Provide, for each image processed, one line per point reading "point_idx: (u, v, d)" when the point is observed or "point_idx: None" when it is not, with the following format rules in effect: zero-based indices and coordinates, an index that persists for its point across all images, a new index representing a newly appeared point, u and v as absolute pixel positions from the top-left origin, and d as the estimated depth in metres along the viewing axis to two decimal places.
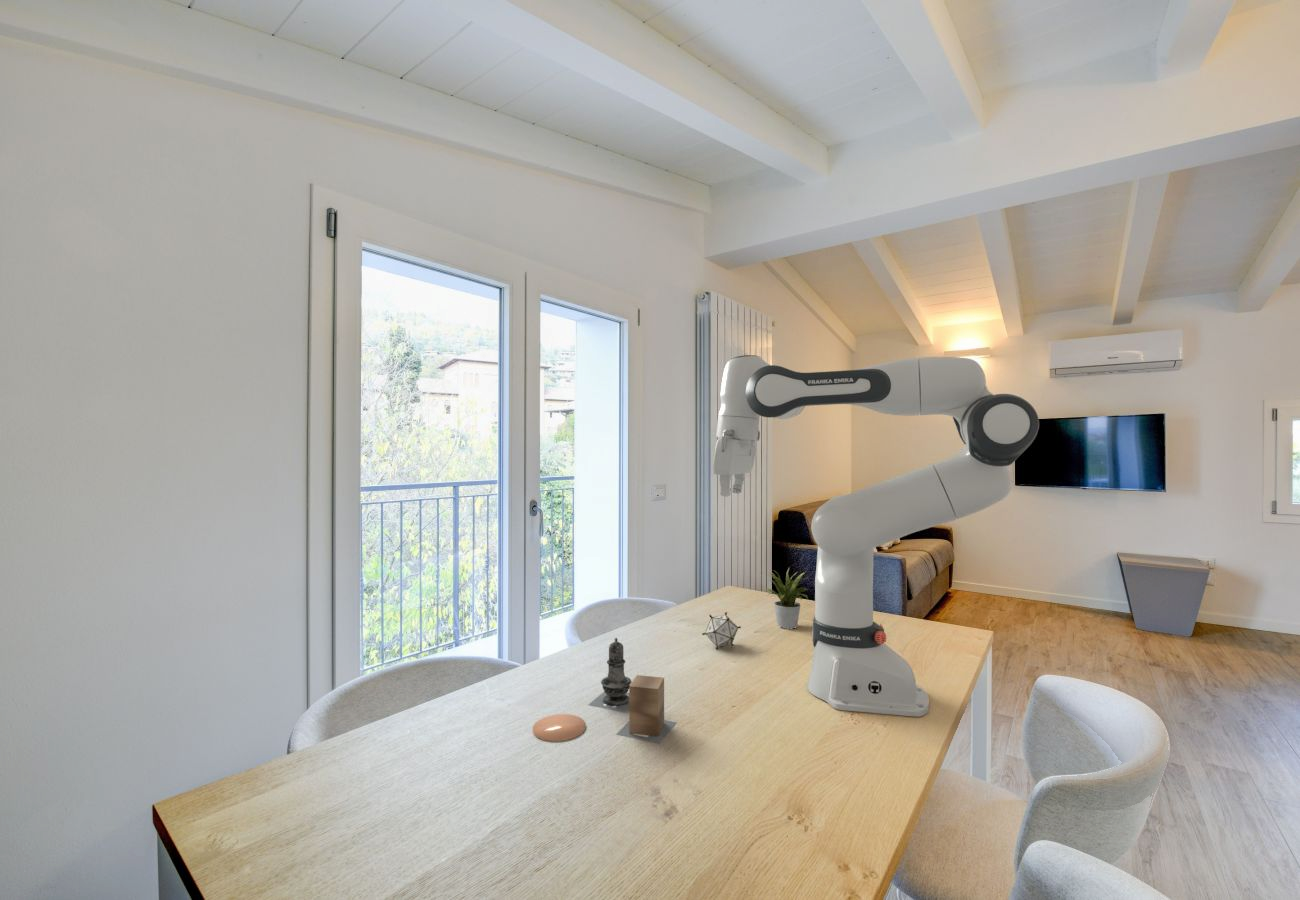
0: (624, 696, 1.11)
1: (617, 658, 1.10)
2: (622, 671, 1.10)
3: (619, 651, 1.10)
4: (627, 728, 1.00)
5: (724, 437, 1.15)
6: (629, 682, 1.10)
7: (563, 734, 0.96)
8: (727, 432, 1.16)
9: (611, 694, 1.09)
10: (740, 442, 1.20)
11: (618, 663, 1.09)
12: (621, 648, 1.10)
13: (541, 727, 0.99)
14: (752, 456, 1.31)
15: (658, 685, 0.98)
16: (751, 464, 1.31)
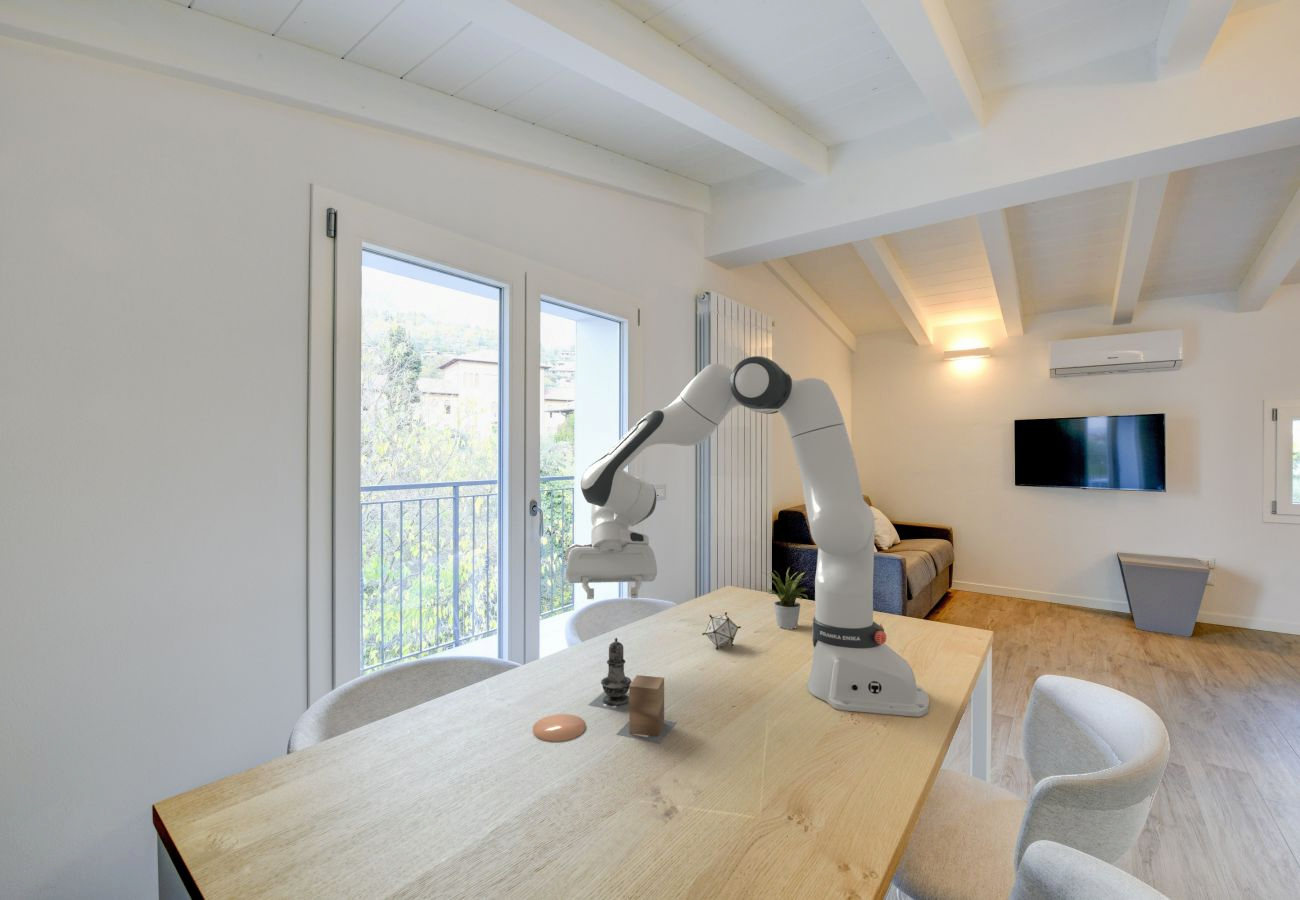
0: (624, 696, 1.11)
1: (617, 658, 1.10)
2: (622, 671, 1.10)
3: (619, 651, 1.10)
4: (627, 728, 1.00)
5: None
6: (629, 682, 1.10)
7: (563, 734, 0.96)
8: (572, 546, 1.31)
9: (611, 694, 1.09)
10: (596, 548, 1.30)
11: (618, 663, 1.09)
12: (621, 648, 1.10)
13: (541, 727, 0.99)
14: (648, 558, 1.29)
15: (658, 685, 0.98)
16: (649, 565, 1.28)
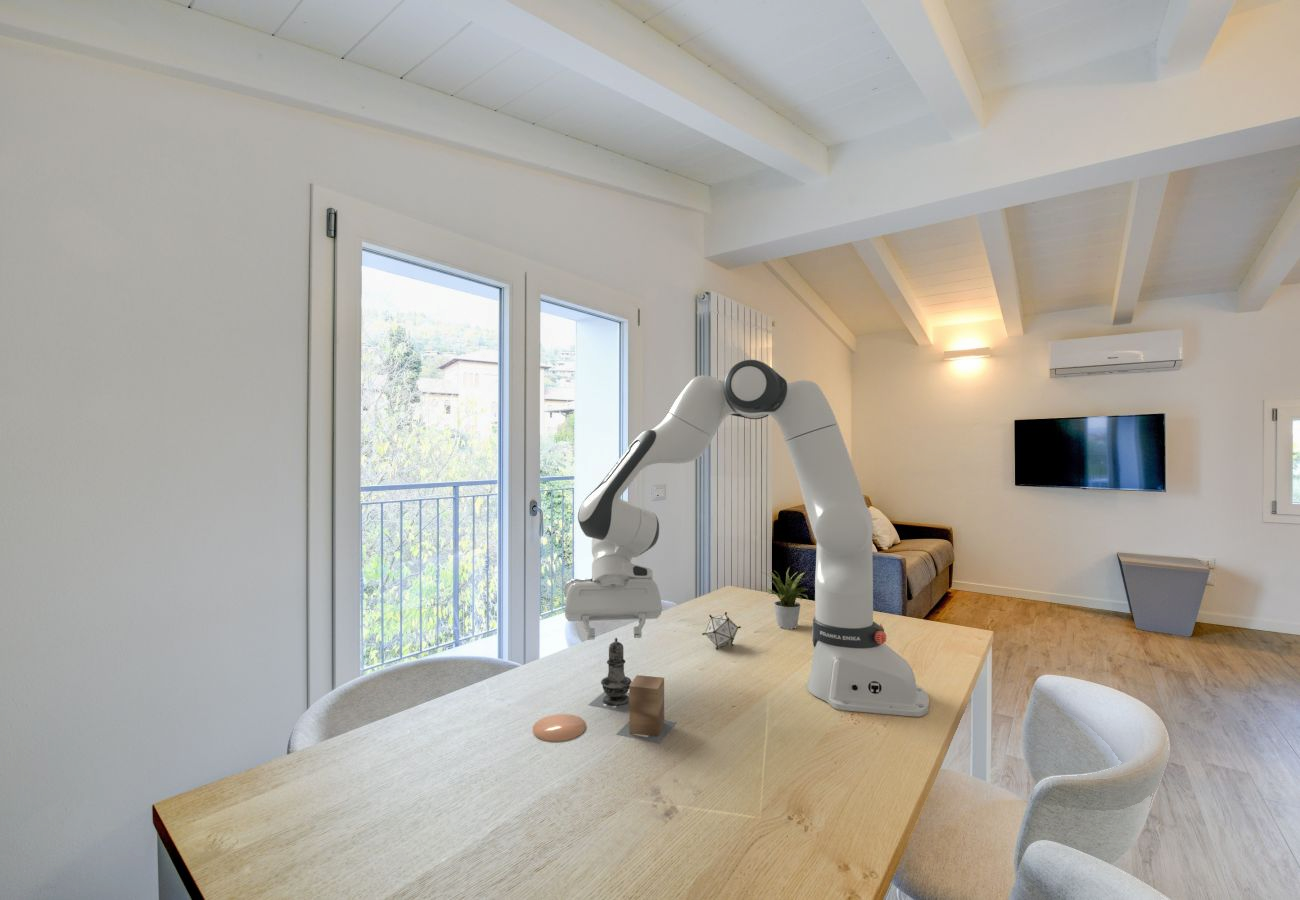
0: (624, 696, 1.11)
1: (617, 658, 1.10)
2: (622, 671, 1.10)
3: (619, 651, 1.10)
4: (627, 728, 1.00)
5: None
6: (629, 682, 1.10)
7: (563, 734, 0.96)
8: (571, 580, 1.24)
9: (611, 694, 1.09)
10: (597, 583, 1.22)
11: (618, 663, 1.09)
12: (621, 648, 1.10)
13: (541, 727, 0.99)
14: (652, 594, 1.21)
15: (658, 685, 0.98)
16: (653, 602, 1.20)
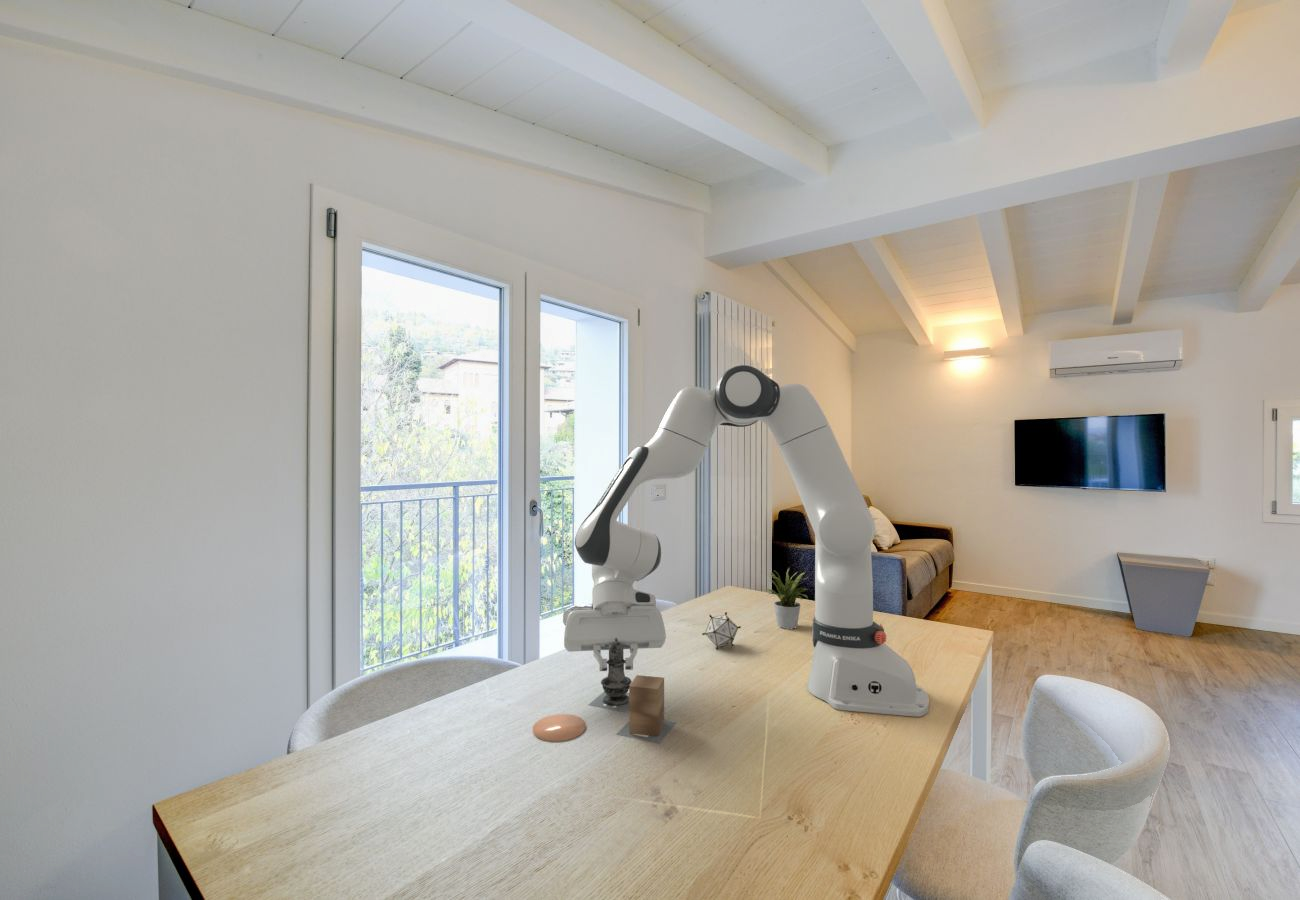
0: (624, 696, 1.11)
1: (617, 658, 1.10)
2: (622, 671, 1.10)
3: (619, 651, 1.10)
4: (627, 728, 1.00)
5: (564, 612, 1.18)
6: (629, 682, 1.10)
7: (563, 734, 0.96)
8: (571, 607, 1.18)
9: (611, 694, 1.09)
10: (598, 611, 1.17)
11: (618, 663, 1.09)
12: (621, 648, 1.10)
13: (541, 727, 0.99)
14: (655, 622, 1.16)
15: (658, 685, 0.98)
16: (656, 630, 1.15)
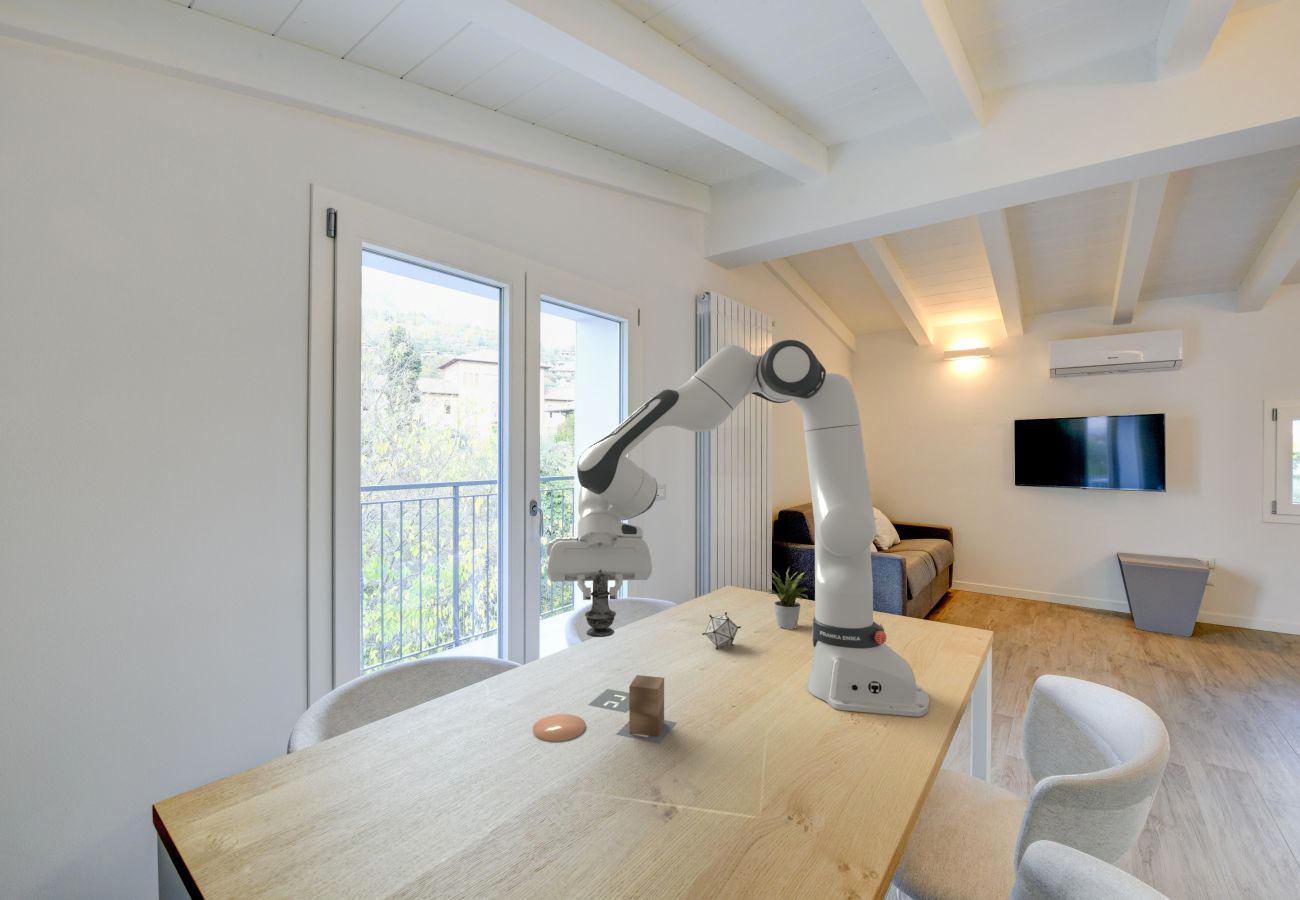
0: (608, 629, 1.09)
1: (601, 589, 1.07)
2: (606, 603, 1.08)
3: (603, 582, 1.07)
4: (627, 728, 1.00)
5: (548, 544, 1.15)
6: (613, 614, 1.08)
7: (563, 734, 0.96)
8: (555, 539, 1.16)
9: (594, 625, 1.06)
10: (583, 542, 1.14)
11: (602, 594, 1.07)
12: (605, 579, 1.07)
13: (541, 727, 0.99)
14: (641, 553, 1.13)
15: (658, 685, 0.98)
16: (642, 561, 1.12)
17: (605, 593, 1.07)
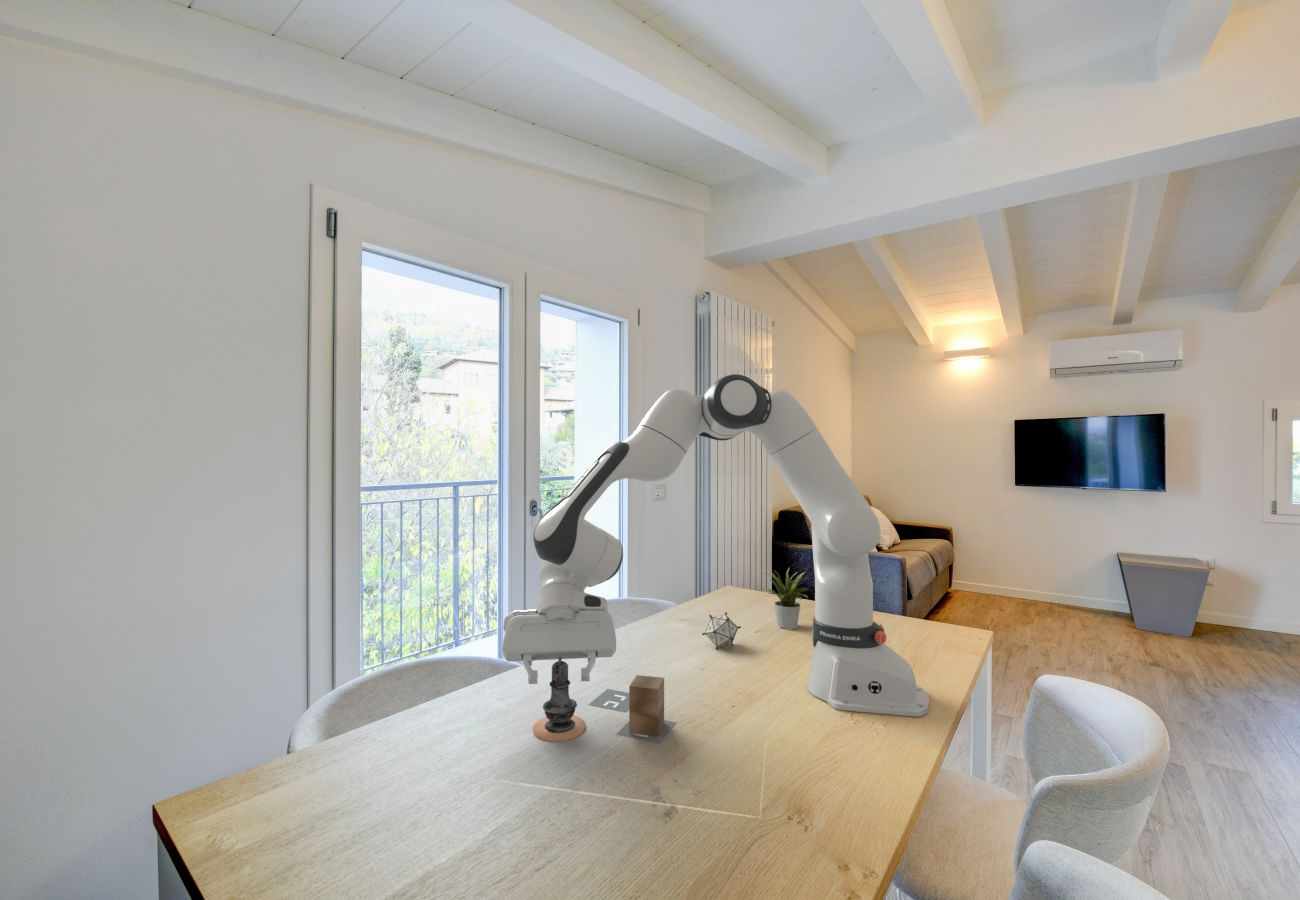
0: (569, 721, 1.00)
1: (560, 679, 0.98)
2: (566, 694, 0.99)
3: (563, 672, 0.98)
4: (627, 728, 1.00)
5: (505, 617, 1.06)
6: (574, 706, 0.99)
7: (563, 734, 0.96)
8: (513, 612, 1.07)
9: (552, 720, 0.97)
10: (542, 616, 1.05)
11: (561, 685, 0.98)
12: (565, 668, 0.99)
13: (541, 727, 0.99)
14: (605, 628, 1.05)
15: (658, 685, 0.98)
16: (606, 638, 1.03)
17: (565, 683, 0.99)
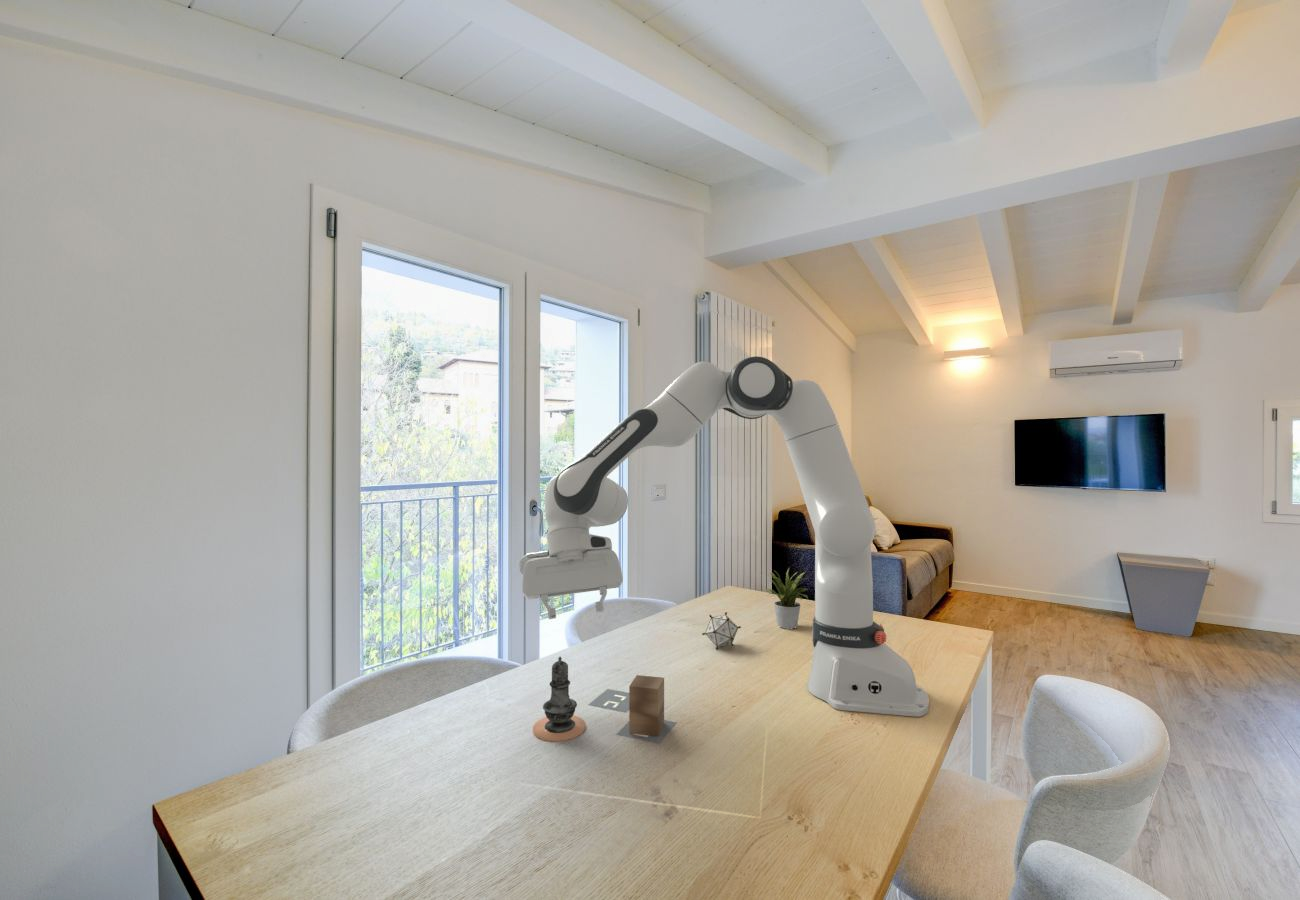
0: (569, 721, 1.00)
1: (560, 679, 0.98)
2: (566, 694, 0.99)
3: (563, 672, 0.99)
4: (627, 728, 1.00)
5: (520, 561, 1.18)
6: (574, 706, 0.99)
7: (563, 734, 0.96)
8: (527, 555, 1.18)
9: (552, 720, 0.97)
10: (554, 558, 1.17)
11: (561, 685, 0.98)
12: (565, 668, 0.99)
13: (541, 727, 0.99)
14: (612, 565, 1.17)
15: (658, 685, 0.98)
16: (613, 574, 1.17)
17: (565, 683, 0.99)
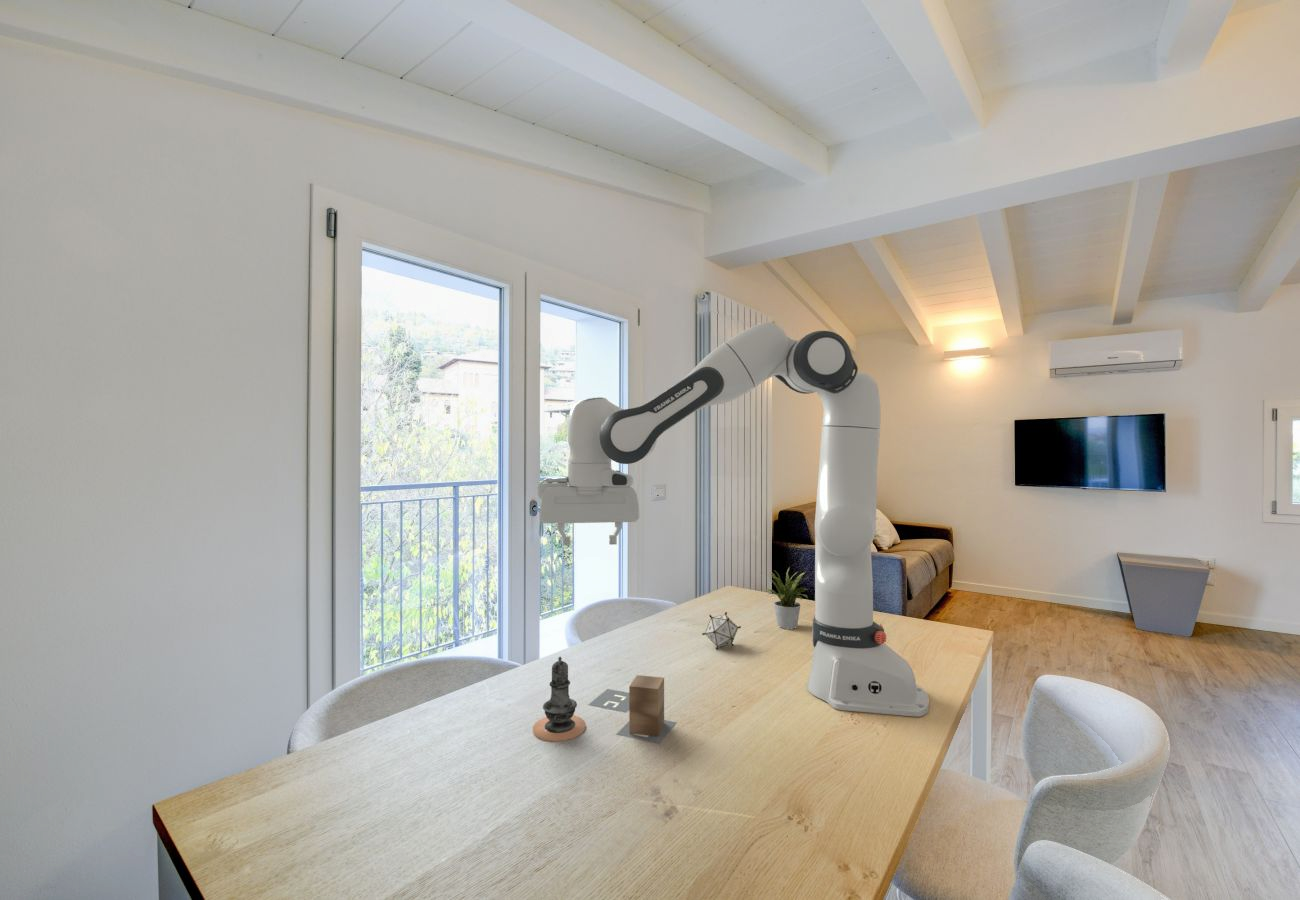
0: (569, 721, 1.00)
1: (560, 679, 0.98)
2: (566, 694, 0.99)
3: (563, 672, 0.99)
4: (627, 728, 1.00)
5: (539, 485, 1.16)
6: (574, 706, 0.99)
7: (563, 734, 0.96)
8: (546, 480, 1.16)
9: (552, 720, 0.97)
10: (573, 489, 1.16)
11: (561, 685, 0.98)
12: (565, 668, 0.99)
13: (541, 727, 0.99)
14: (630, 503, 1.17)
15: (658, 685, 0.98)
16: (630, 512, 1.17)
17: (565, 683, 0.99)
